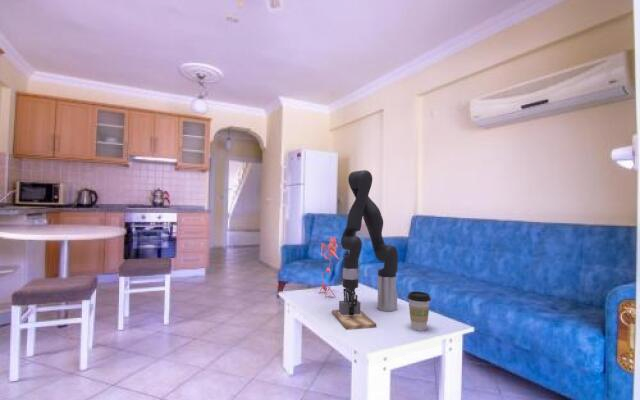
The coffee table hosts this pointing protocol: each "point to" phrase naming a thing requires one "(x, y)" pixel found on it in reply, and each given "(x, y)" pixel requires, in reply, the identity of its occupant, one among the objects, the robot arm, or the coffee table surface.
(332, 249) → the figurine
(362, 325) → the oak board
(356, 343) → the coffee table surface
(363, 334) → the coffee table surface
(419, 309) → the coffee cup
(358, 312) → the sanding block
